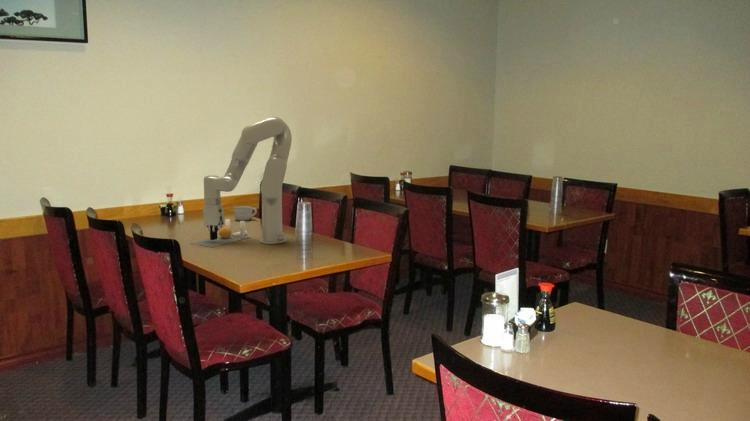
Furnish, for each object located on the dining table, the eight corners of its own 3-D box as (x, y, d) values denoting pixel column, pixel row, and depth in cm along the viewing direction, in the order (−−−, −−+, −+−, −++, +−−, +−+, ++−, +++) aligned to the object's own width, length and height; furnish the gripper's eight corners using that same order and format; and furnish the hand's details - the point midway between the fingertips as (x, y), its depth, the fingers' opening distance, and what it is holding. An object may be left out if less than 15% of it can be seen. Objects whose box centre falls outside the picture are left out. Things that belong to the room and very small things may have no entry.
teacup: (230, 220, 339) (229, 207, 338) (242, 217, 349) (242, 204, 347) (248, 223, 333) (248, 209, 331) (261, 220, 342) (260, 206, 341)
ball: (228, 223, 290) (224, 232, 286) (235, 230, 294) (231, 240, 290) (218, 224, 292) (215, 234, 288) (225, 232, 296) (221, 241, 292)
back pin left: (246, 238, 293) (245, 221, 291) (242, 239, 291) (242, 222, 289) (242, 237, 294) (242, 220, 292) (239, 238, 292) (238, 221, 290)
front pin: (235, 238, 293) (247, 235, 300) (236, 233, 293) (247, 231, 300) (231, 236, 294) (243, 234, 302) (232, 232, 294) (244, 229, 301)
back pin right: (231, 235, 298) (231, 219, 296) (228, 236, 296) (227, 220, 294) (228, 235, 299) (227, 218, 297) (224, 236, 297) (224, 219, 295)
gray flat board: (250, 237, 294) (250, 237, 294) (212, 247, 272) (212, 246, 272) (230, 234, 301) (230, 234, 301) (190, 243, 279) (190, 243, 279)
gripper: (229, 202, 279) (230, 239, 282) (207, 199, 286) (208, 236, 289) (218, 204, 272) (219, 242, 275) (195, 201, 280) (196, 238, 283)
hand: (213, 239), depth 282 cm, fingers closed
